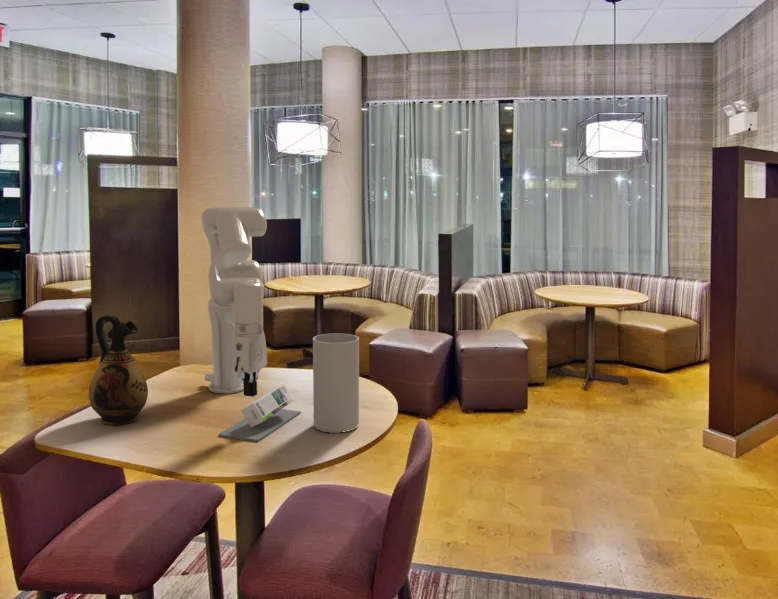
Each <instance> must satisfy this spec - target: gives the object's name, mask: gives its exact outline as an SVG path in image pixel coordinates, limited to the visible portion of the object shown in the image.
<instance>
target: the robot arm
mask: <svg viewBox="0 0 778 599" xmlns="http://www.w3.org/2000/svg"><path fill="white" fill-rule="evenodd" d="M201 222H202V224H201V225H202V228H203V231H204V233H205V236H206V239H207V241H208V245H209V249H210V265H209V269H208V276H207V277H208V284H209V285H208V286H209V292H210V293H209V294H210V299H209V300H208V304H207V309H208V310H207V311H208V315H209V323H210V329H211V342H212V343H211V346H212V373H209V372H208V373H207V372H206V374H205V376H204V377H203V378H204V381H207V382H210V384H209V385H208V391H209V392H212V393H215V394H234V393H239V392H243V396H244V397H255V396H257V395H258V380H259V372H260V371H261V370H263V369H265V367H267V365H268V350H267V342H266V334H265V331H264V297H265V286H264V284H263V272H262V268H261V265H260V264H259V263H258V261H256V260H252V259H248V258H249V257H250V256H251V255H252V246H251V242H250V237H255V238H256V237H257V238H258V237H263V236H265V234H266V232H267V226H268V224H267V218H266V214H265V213H264V212H263V210H262V209H261V208H258V207H254V206H253V207H251V206H249V207H247V206H214V207H207V208H205V209H204V210H203V212H202V214H201Z"/></svg>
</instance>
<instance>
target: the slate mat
mask: <svg viewBox="0 0 778 599" xmlns="http://www.w3.org/2000/svg"><path fill="white" fill-rule="evenodd" d="M300 413H301V414H302V411H301V410H299V411H298V410H293V409H292V410H291V409H284V408H282V409H281V410H279V411H278V412H277V413H275V414H274V415H272V416H271V417H269V418H268V419H267V420H265V421H263V422H262V423H260V424H258V425H256V426H254V427H252V428H251V426H250V425H249V423H248V421H247V420H246V418H245V417H244V418H243V419H241V421H239V422H237V423H235V424H233V425H232V426H230V427H228V428H227V429H225V430H223V431H221V432H219V433H218V437H223V438H229V439H234V440H235V439H236V440H242V441H248V442H255V443H259V442H260V441H262V440H264V439H265V438H267V437H268V436H270V435H271V434H273V433H274V432H275V431H277V430H279V429H280V428H282V427H283V426H285V425H286V424H288V423H289V422H290V420H291V421H292V420H294V419H295V418H296V416H297V415H298V416H299V414H300ZM301 414H300V415H301ZM298 416H297V417H298ZM294 417H295V418H294ZM293 418H294V419H293Z"/></svg>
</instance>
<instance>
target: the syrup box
mask: <svg viewBox="0 0 778 599" xmlns="http://www.w3.org/2000/svg"><path fill="white" fill-rule="evenodd" d="M294 401H295V399H294V397H293V395H292V394H291V392H290V390H289V388H288V387H287V386H286V383H282V384H281V385H279V386H277V387H275V388H274V389H272V390H270V391H268V392H267V393H265V394H264V395H263V396H260V397H259V398H257V400H254V401H253V402H251V403H250V404H249V405H247V406H245V407H243V409H241V410H240V411H241V414H242V415H243V417H244V419H245V418H246V420H247V421H248V423H249V425H250V426H251V428H252V427H254V426H256V425H258V424H260V423H262V422H263V421H265V420H267V419H268V418H269V417H271V416H272V415H274V414H275V413H277V412H278V411H279V410H281V409H284V408H285V407H287V406H288V405H290V404H292V402H294Z"/></svg>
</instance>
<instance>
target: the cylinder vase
mask: <svg viewBox="0 0 778 599" xmlns="http://www.w3.org/2000/svg"><path fill="white" fill-rule="evenodd" d="M312 373H313V374H312V380H313V381H312V384H313V385H312V386H313V387H312V388H313V390H312V392H313V393H312V394H313V395H312V396H313V397H312V398H313V405H312V406H313V426H314V428H315V429H316V430H318V431H319V430H320V431H319V432H322V431H323V433H326V432H329V433H328V434H339V433H338V432H343V431H347V430H351V429H353V428H355V427H356V426H357V425H358V424H360V337H359V336H357V335H354V334H351V333H338V332H337V333H335V332H333V333H323V334H318V335H315V336H313V337H312ZM358 426H359V425H358ZM358 426H357V427H358ZM355 429H356V428H355Z"/></svg>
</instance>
